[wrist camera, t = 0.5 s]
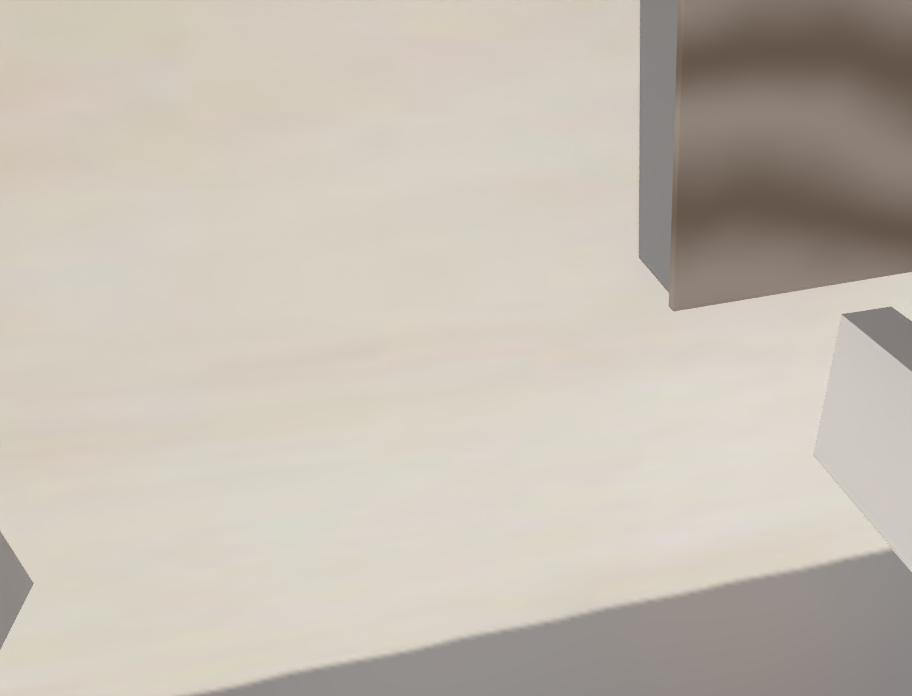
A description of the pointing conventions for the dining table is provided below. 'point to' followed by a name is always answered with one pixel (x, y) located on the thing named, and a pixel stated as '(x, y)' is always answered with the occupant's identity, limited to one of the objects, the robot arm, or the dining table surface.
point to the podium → (774, 145)
